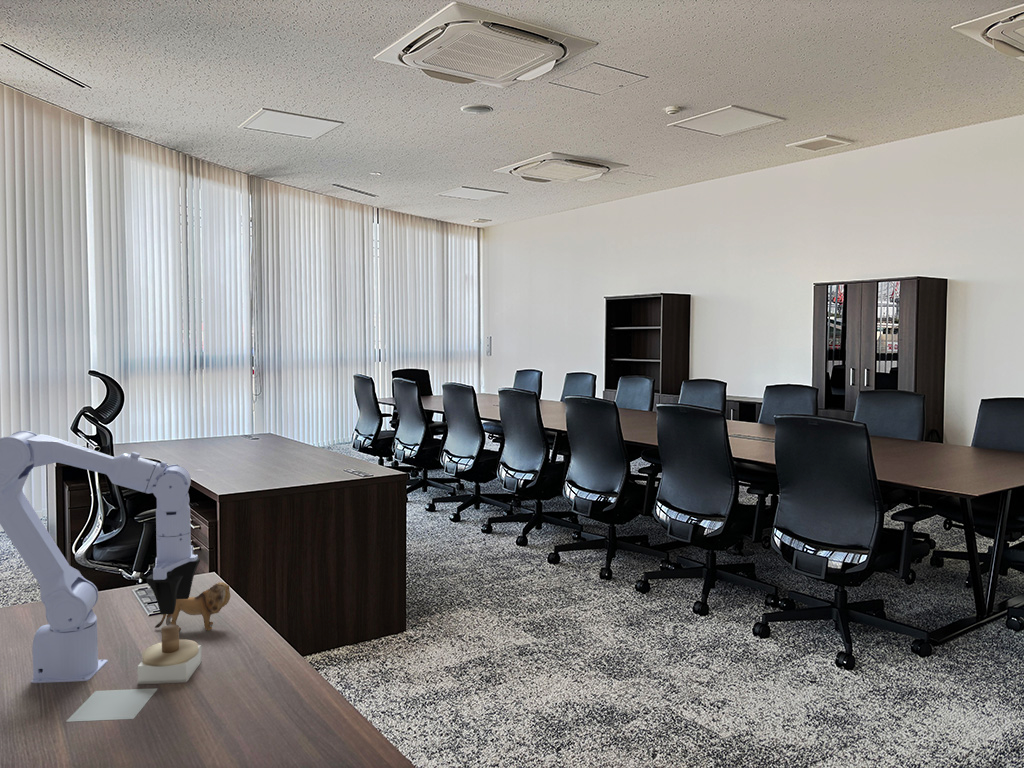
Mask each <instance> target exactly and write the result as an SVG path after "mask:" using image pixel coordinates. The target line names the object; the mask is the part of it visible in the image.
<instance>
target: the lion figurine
mask: <svg viewBox="0 0 1024 768" xmlns="http://www.w3.org/2000/svg"><path fill="white" fill-rule="evenodd" d="M230 599H231V592H230V585H229V584H227V583H225V582H222V581H221V582H217V583H214V584H213V585H212V586H210V587H209V588H208V589H206V590H203V591H202V592H201V593H199V595H197V596H192V597H191V596H189V598H188V599H176V606H175V611H174V613H173V614H162V618H161V620H160V621H159V622H158V623H157V624H156V625H155V626H154V628H155V629H157V628H160V627H161V626H162V625H163V623H164V621H165V626H167V625H177V620H178V617H179V614H180V612H181V611H182V612H183V613H185V614H187V615H189V616H202V618H203V625H204V629H205V630H206V631H212V630H213V627H212V625H213V624H214V622H213V621H210V620H211V616H212V615H214V614H218V613H219V612H220V611H221V610H222V608H223V607H225V606H226V605H227V604H229V602H230ZM181 630H182V628H181V627H180V626H179V632H180V631H181Z"/></svg>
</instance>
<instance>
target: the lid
mask: <svg viewBox="0 0 1024 768" xmlns="http://www.w3.org/2000/svg"><path fill="white" fill-rule="evenodd" d="M179 627H180V626H179V625H178V624H176V625H164V626H162V628H161V642H158V643H155V644H153V645H150V646H149V647H146V648H145V649H144V650H143V651H142V654H141V657H142V658H141V659H142V660H141V662H142V661H143V663H144V664H146V665H149V666H156V667H162V666H171V665H176V664H180V663H183V662H186V661H188V660H190V659H192V658H194V657H195V656H196V655H197V654H198V645H199V643H197V642H196V641H195V640H191V639H186V638H185V639H184V638H182V639H180V631H179Z"/></svg>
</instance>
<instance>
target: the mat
mask: <svg viewBox="0 0 1024 768" xmlns="http://www.w3.org/2000/svg"><path fill="white" fill-rule="evenodd" d="M158 690H159V688H134V689H133V688H132V689H131V688H130V689H111V690H110V689H109V690H108V689H107V690H95V691H94V692H92V694H91V695H90V696H89V697H88V698H87V699H86V700H85V701H84V702H83V703H82V704H81V705H80V706H79V708H77V709H76V710H75V711H74V712H73V713H72V715H71V716H69V718H67V720H65V723H77V722H97V721H98V722H99V721H101V722H102V721H120V720H122V721H123V720H134V719H135V718H136V716H137V715H139V713H140V712H141V710H143V708H144V707H145V705H147V703H148V701H150V699H151V698H152V697H153V695H154V694H155V693H156V692H157V691H158Z"/></svg>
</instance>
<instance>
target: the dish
mask: <svg viewBox="0 0 1024 768" xmlns="http://www.w3.org/2000/svg"><path fill="white" fill-rule="evenodd" d="M201 663H202V645H201V644H198V654H197V655H196V656H195V657H194V658H192V659H190V660H188V661H186V662H183V663H180V664H176V665H171V666H162V667H156V666H149V665H146V664H144V663H143V661H142V660H141V662H140V663H139V664H138V665H137V685H148V684H149V685H150V684H153V685H154V684H155V685H156V684H178V683H179V684H181V683H187V682H188V681H189V680H190V678H191V677H192V676H193V674H194V673H195V671H196V670H197V669H198V667H199V666H200V664H201Z"/></svg>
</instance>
